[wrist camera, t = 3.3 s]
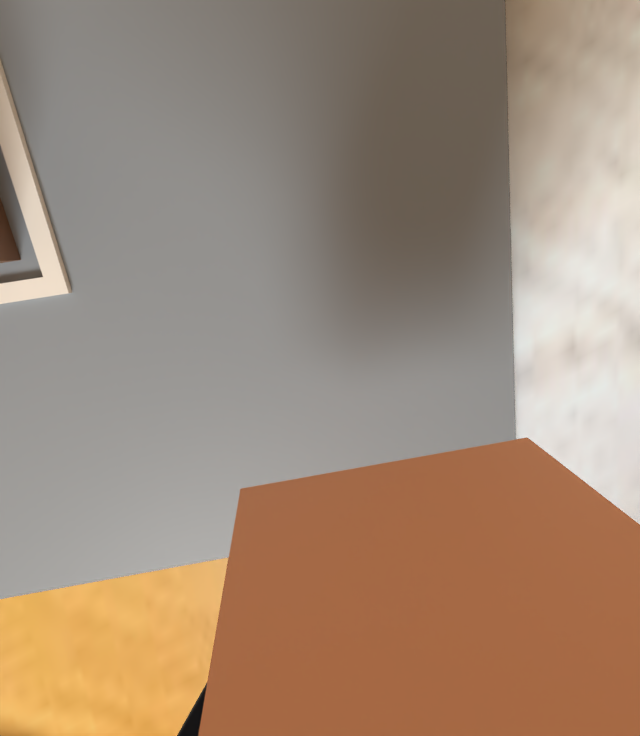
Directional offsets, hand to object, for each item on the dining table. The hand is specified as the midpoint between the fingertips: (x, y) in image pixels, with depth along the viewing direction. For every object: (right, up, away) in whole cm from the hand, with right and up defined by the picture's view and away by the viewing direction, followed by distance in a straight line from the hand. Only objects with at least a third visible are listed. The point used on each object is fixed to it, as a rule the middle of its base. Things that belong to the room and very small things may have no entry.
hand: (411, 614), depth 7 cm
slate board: (-7, +7, +5) cm, 11 cm away
